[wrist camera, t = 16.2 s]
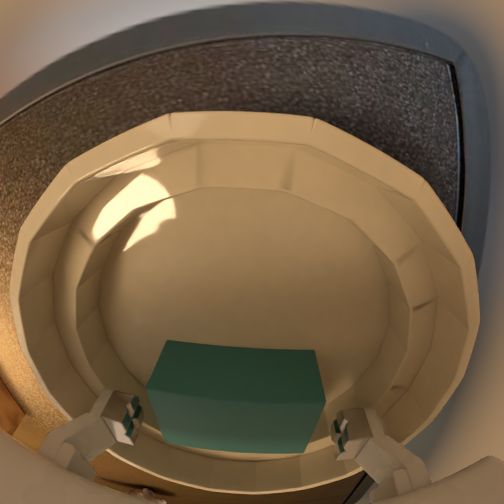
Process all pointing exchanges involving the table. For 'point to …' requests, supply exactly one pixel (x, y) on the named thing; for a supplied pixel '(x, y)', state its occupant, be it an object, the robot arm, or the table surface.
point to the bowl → (245, 280)
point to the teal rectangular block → (236, 397)
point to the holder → (9, 411)
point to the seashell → (145, 495)
